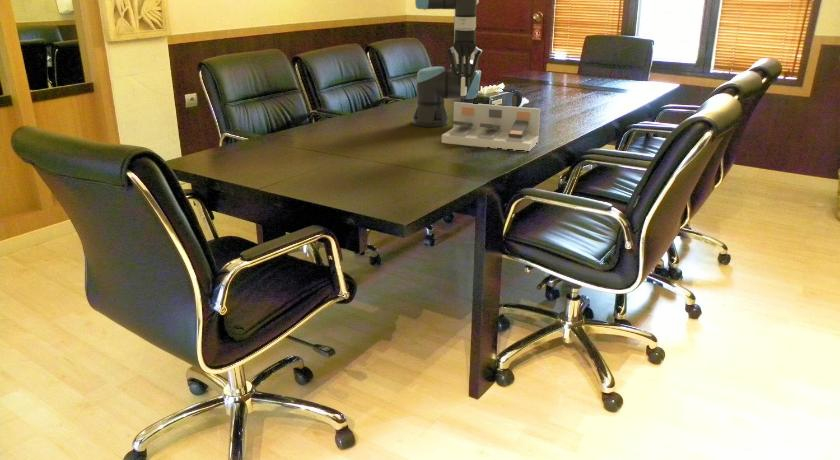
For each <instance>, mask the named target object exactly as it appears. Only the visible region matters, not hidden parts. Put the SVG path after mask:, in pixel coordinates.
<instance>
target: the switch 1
mask: <svg viewBox="0 0 840 460" xmlns="http://www.w3.org/2000/svg"><path fill="white" fill-rule="evenodd" d="M453 124H454V125H461V126H472V125H473V123H468V122H465V121H454V120H452V121H451V125H453Z"/></svg>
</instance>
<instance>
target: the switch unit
mask: <svg viewBox="0 0 840 460" xmlns="http://www.w3.org/2000/svg"><path fill="white" fill-rule="evenodd" d="M452 117H453V118H452V119H453V120H454V121H465V122H468V123H473V125H472V126H461V125H454V124H452V125H453V126H452V128H451V129H449V130H447V131H446V132H444V133H442V134H441V143H442V144H449V145H458V146H459V145H460V146H467V147H468V146H469V147H477V148H487V147H490V148H491V149H497V148H502V149H501V150H507V149H513V150H512V151H516V150H525V151H524V152H526V151H530V150H531V149H532V148H533V147H534V148H535V147H536V146H537V144H538V143H539V132H540V122H541V120H540V119H541V108H537V107H536V108H534V107H522V106H519V107H512V106H499V105H486V104H473V103H471V102H462V101H461V102H457V101H454V102H453V116H452ZM453 120H452V121H453ZM515 120H520V121H529V124H528V126H527V129H526V131H525V133H524V135H523V137H522V138H518V137H509V132H510V130H511V128H512V126H513V124H514V122H515ZM480 123H487V124H494V125H498V126H500V129H494V128H485V127H480ZM537 142H538V143H537ZM536 143H537V144H536ZM534 148H533V149H534ZM533 149H532V150H533ZM532 150H531V151H532ZM531 151H530V152H531Z"/></svg>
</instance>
